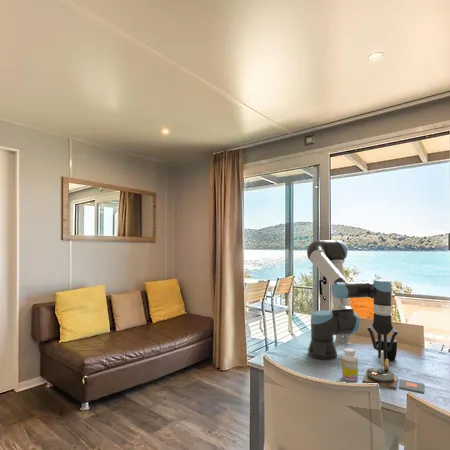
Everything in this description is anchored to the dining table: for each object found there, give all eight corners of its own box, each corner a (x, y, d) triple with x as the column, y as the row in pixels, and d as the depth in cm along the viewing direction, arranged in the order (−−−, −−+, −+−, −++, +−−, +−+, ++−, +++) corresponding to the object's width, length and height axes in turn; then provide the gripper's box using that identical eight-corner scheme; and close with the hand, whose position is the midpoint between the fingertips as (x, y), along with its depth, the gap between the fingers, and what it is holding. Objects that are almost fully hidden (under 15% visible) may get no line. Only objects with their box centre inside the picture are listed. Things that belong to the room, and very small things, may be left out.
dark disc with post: (362, 375, 145) (361, 359, 146) (376, 370, 151) (376, 355, 151) (384, 384, 136) (384, 367, 136) (399, 378, 142) (399, 362, 142)
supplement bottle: (345, 374, 150) (344, 346, 151) (360, 377, 146) (359, 349, 147) (340, 378, 145) (339, 350, 146) (355, 383, 141) (354, 353, 141)
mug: (401, 360, 167) (400, 340, 168) (389, 363, 164) (388, 342, 164) (382, 353, 178) (381, 334, 179) (370, 355, 175) (369, 336, 175)
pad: (398, 388, 136) (398, 386, 136) (400, 380, 143) (400, 378, 143) (423, 393, 131) (423, 391, 131) (423, 385, 138) (423, 383, 138)
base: (362, 382, 141) (362, 379, 141) (367, 372, 152) (367, 369, 152) (395, 389, 134) (395, 386, 134) (398, 378, 145) (398, 375, 145)
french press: (330, 340, 202) (330, 300, 203) (346, 338, 205) (345, 299, 206) (340, 345, 192) (339, 303, 194) (356, 343, 196) (355, 302, 197)
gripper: (366, 313, 148) (366, 365, 147) (397, 317, 141) (397, 371, 140) (368, 310, 154) (368, 360, 153) (398, 314, 147) (398, 366, 146)
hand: (382, 365), depth 146 cm, fingers closed
